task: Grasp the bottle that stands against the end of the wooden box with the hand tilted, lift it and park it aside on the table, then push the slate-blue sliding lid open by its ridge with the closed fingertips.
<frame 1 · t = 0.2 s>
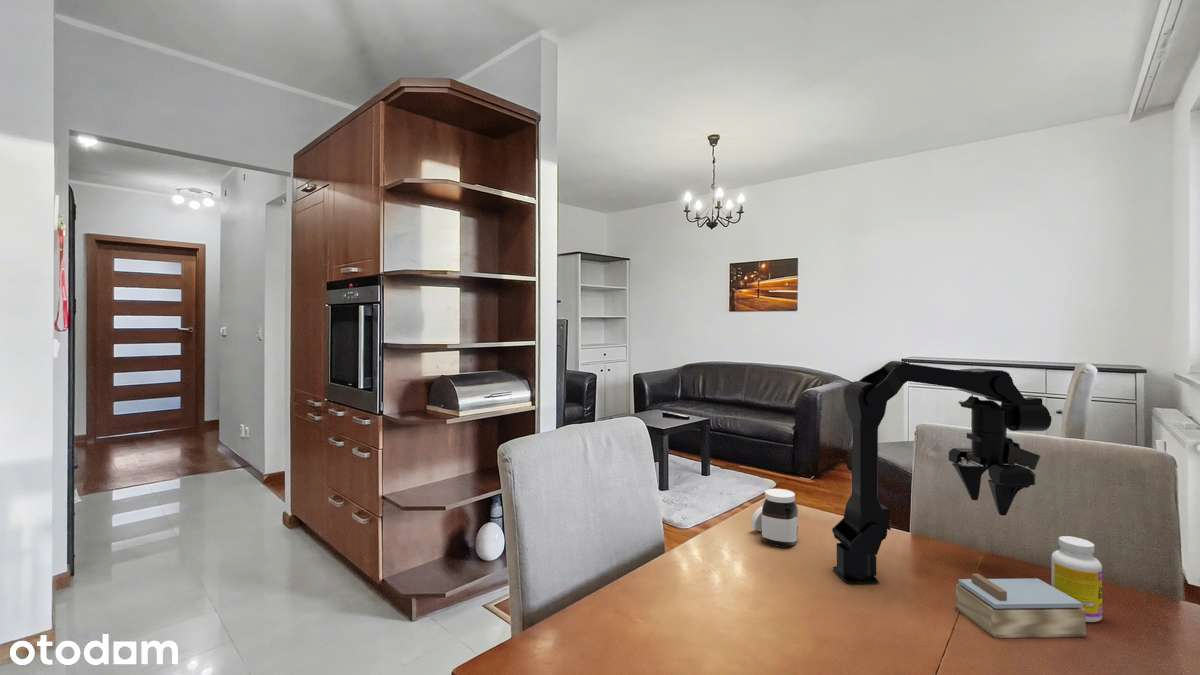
hand: (987, 507, 105), 14 cm above the table, tool pointing down, fingers open, 9 cm apart
lid: (1017, 588, 89), point 6 cm above the table, slide at 0.0 cm
supplement bottle: (1076, 614, 92), on the table
spread jar: (773, 539, 126), on the table
wooden box: (1017, 622, 89), on the table
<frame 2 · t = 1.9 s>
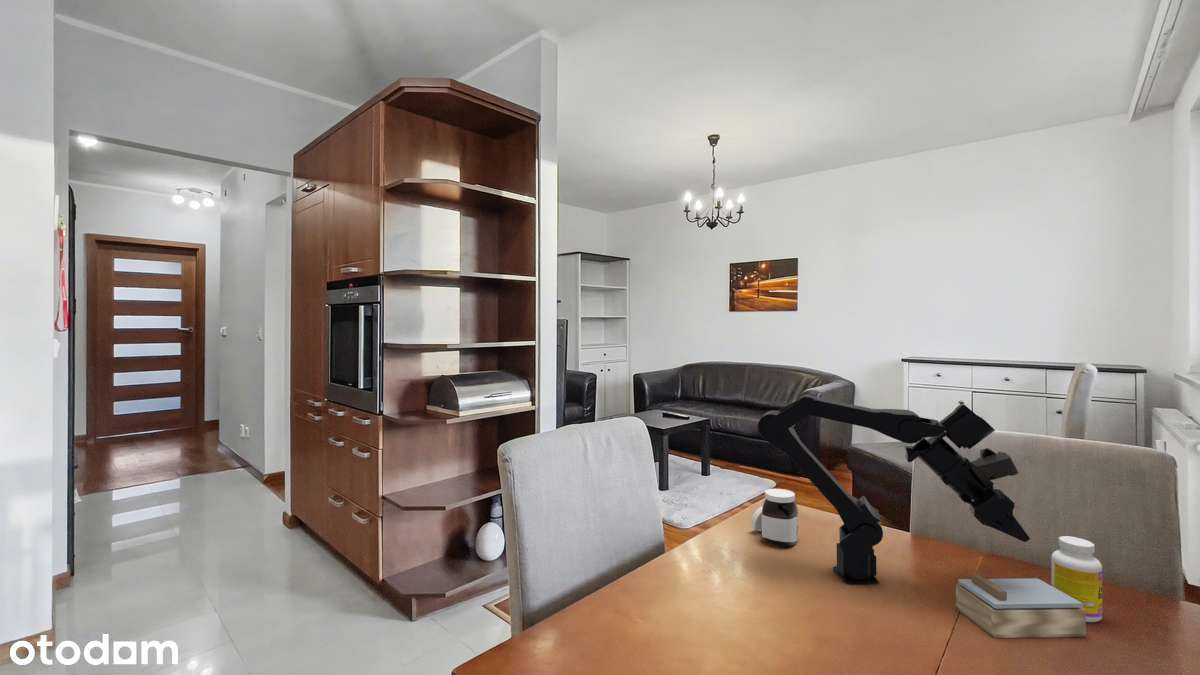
hand: (1018, 531, 95), 13 cm above the table, tool tilted 45°, fingers open, 9 cm apart
nothing on the table moved.
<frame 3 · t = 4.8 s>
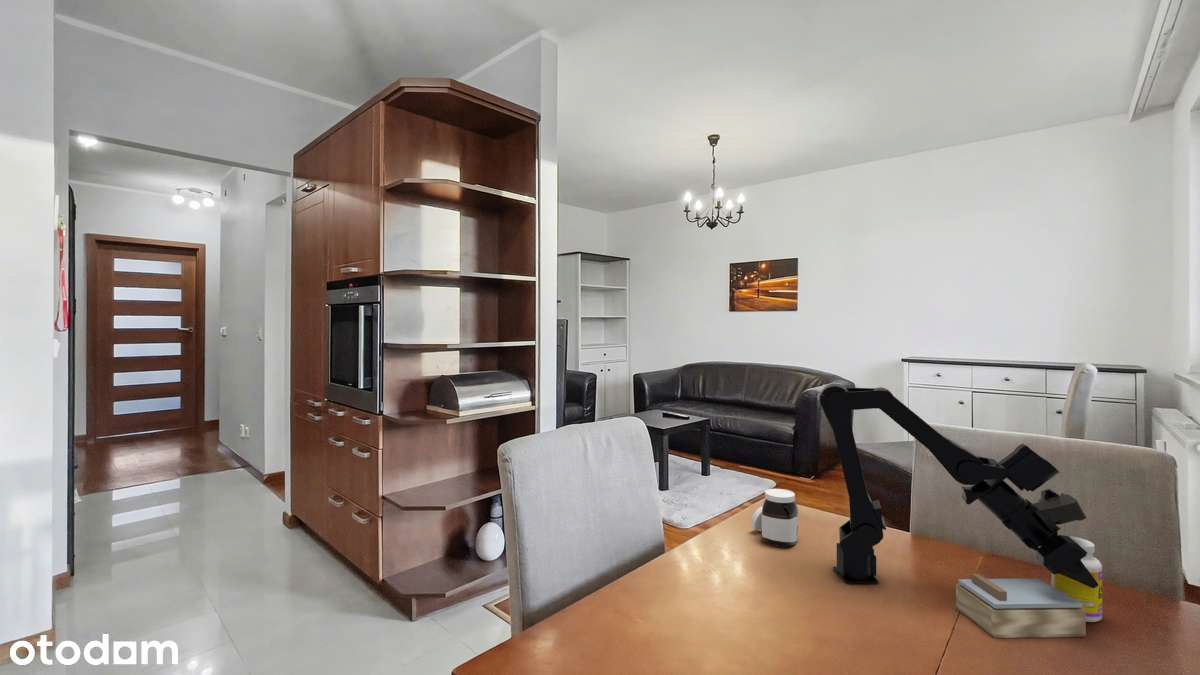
hand: (1086, 577, 91), 7 cm above the table, tool tilted 45°, fingers closed on supplement bottle, 7 cm apart
supplement bottle: (1076, 614, 92), on the table, touching gripper
everything else where it was.
when the fingers open (8 cm above the table, at t = 8.4 s): supplement bottle stays where it is, on the table.
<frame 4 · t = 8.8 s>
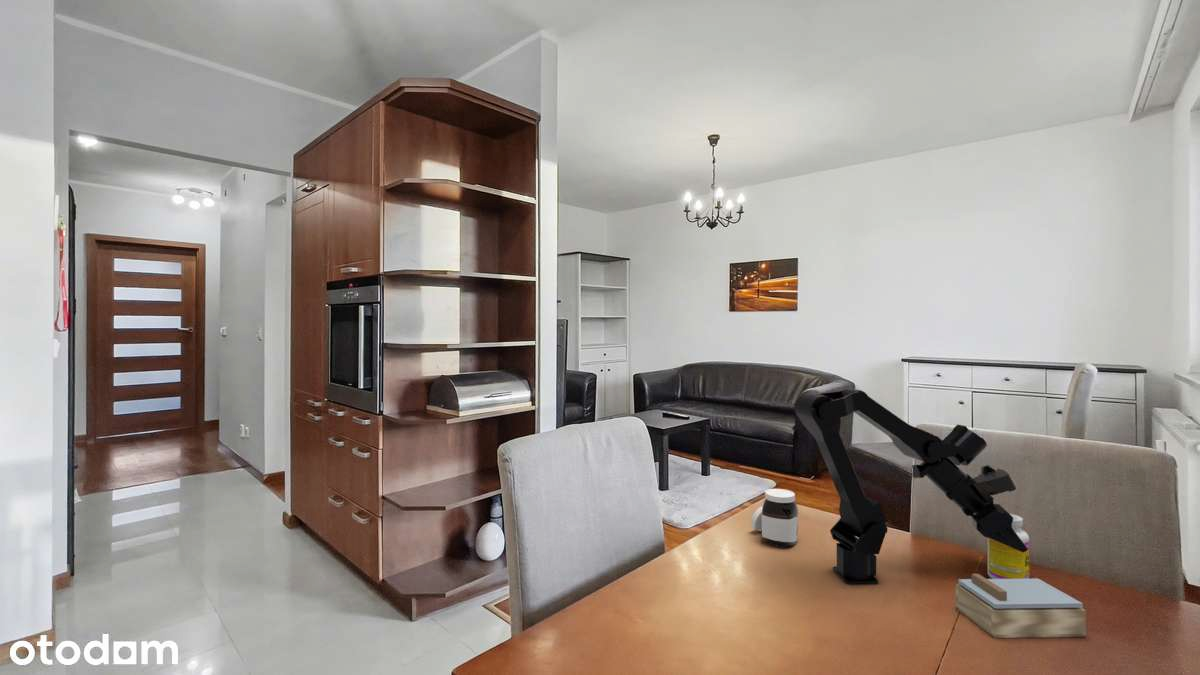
hand: (1017, 541, 103), 8 cm above the table, tool tilted 45°, fingers open, 9 cm apart
supplement bottle: (1008, 581, 104), on the table
everything else where it was.
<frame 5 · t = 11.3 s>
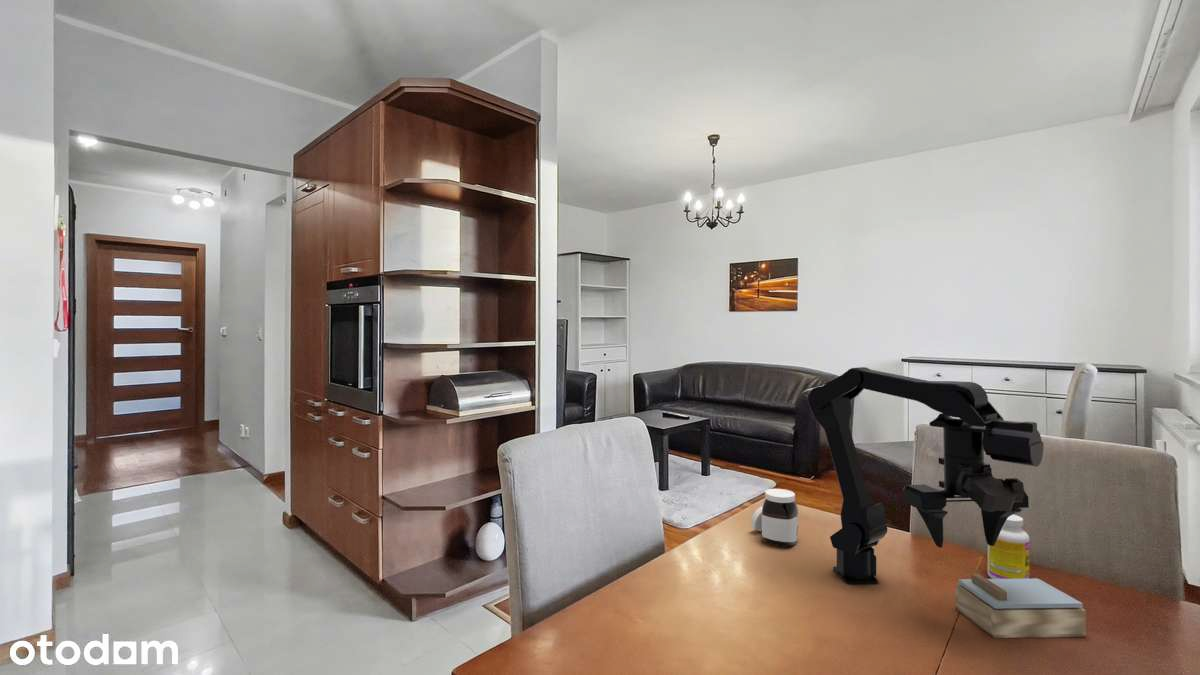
hand: (964, 546, 89), 13 cm above the table, tool pointing down, fingers open, 9 cm apart
nothing on the table moved.
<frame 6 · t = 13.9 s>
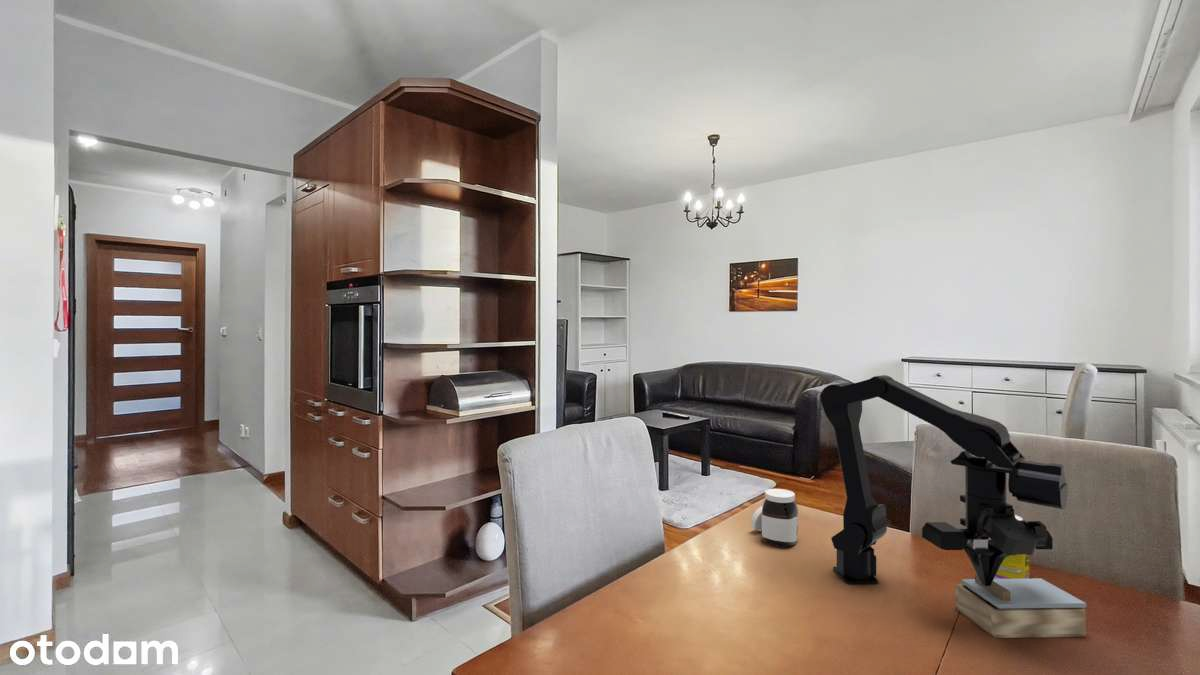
hand: (985, 585, 89), 6 cm above the table, tool pointing down, fingers closed
lid: (1021, 588, 89), point 6 cm above the table, slide at 0.6 cm, touching gripper
everything else where it was.
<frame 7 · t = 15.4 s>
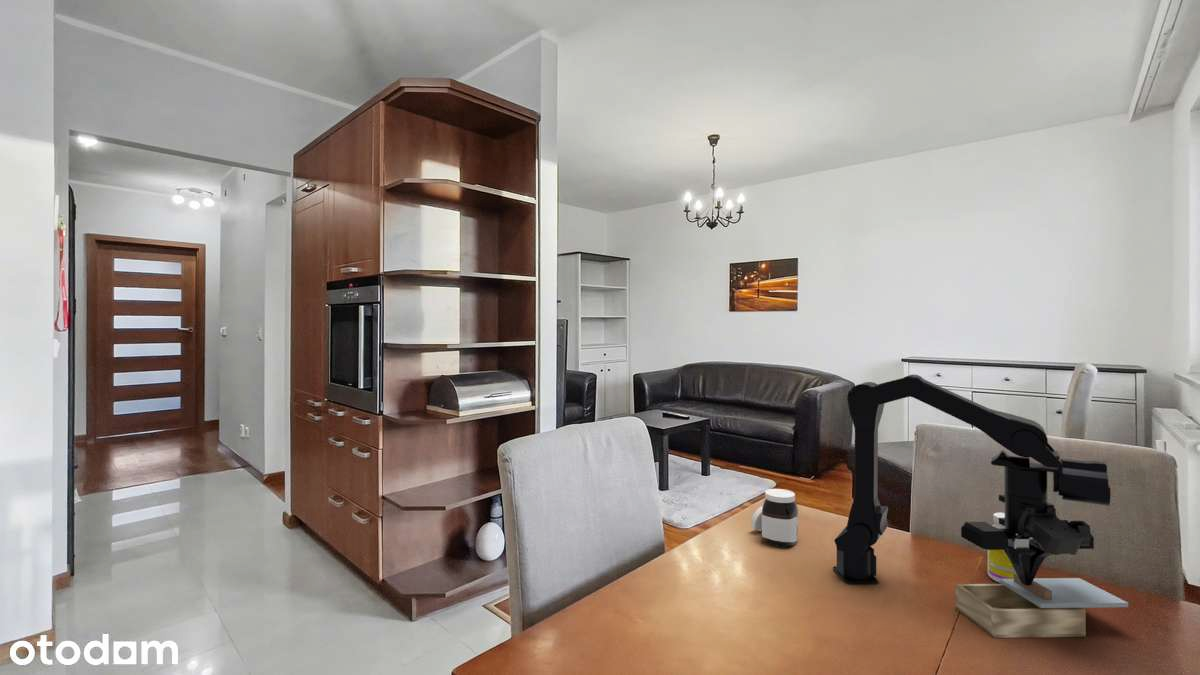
hand: (1025, 584, 89), 6 cm above the table, tool pointing down, fingers closed
lid: (1061, 587, 89), point 6 cm above the table, slide at 7.5 cm, touching gripper
everything else where it was.
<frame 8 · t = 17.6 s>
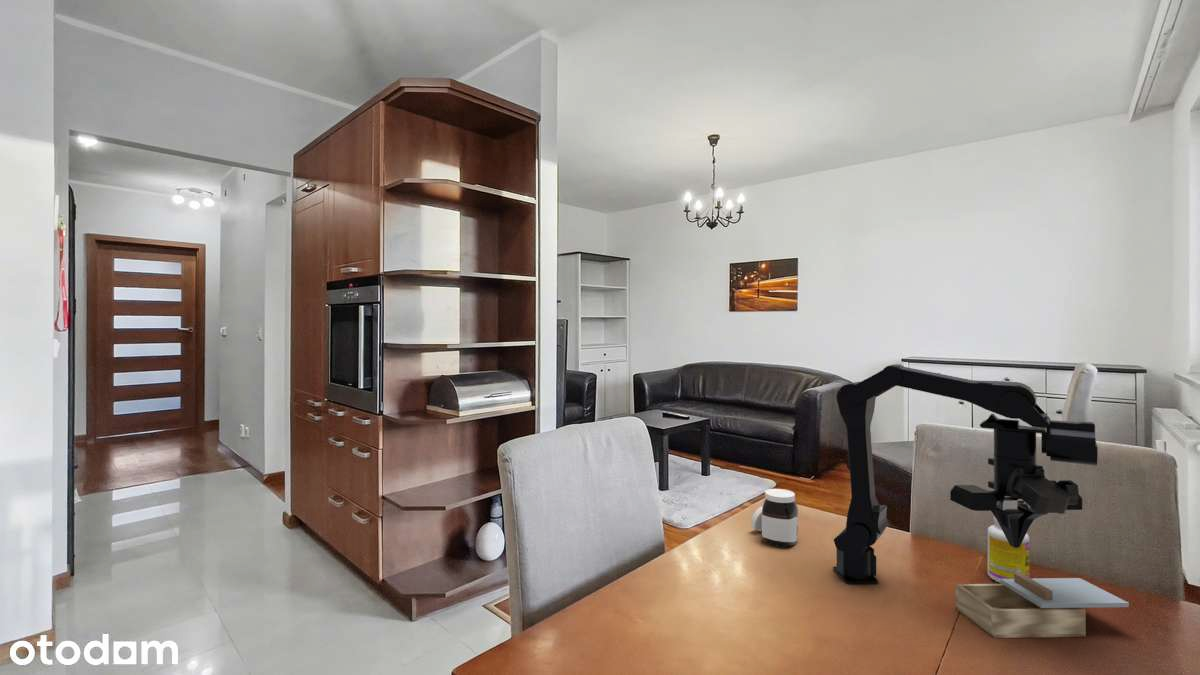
hand: (1014, 546, 89), 13 cm above the table, tool pointing down, fingers closed
lid: (1061, 587, 89), point 6 cm above the table, slide at 7.6 cm
everything else where it was.
at the end: lid slide at 7.6 cm; supplement bottle inside the target area (0.2 cm from its centre), on the table; supplement bottle tilted 0° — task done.
